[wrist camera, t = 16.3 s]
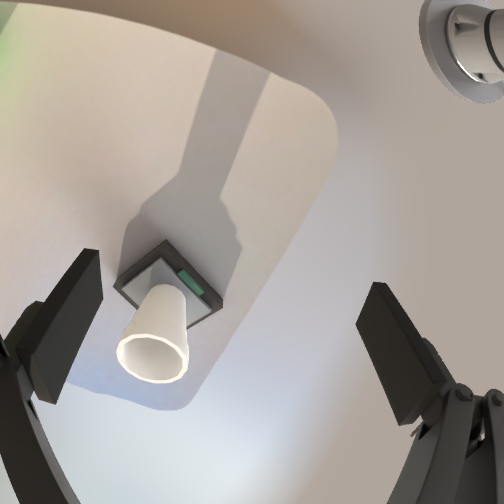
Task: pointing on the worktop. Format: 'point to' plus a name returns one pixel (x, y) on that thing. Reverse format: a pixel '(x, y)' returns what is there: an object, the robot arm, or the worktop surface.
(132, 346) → the foam cup
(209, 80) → the worktop surface
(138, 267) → the scale
